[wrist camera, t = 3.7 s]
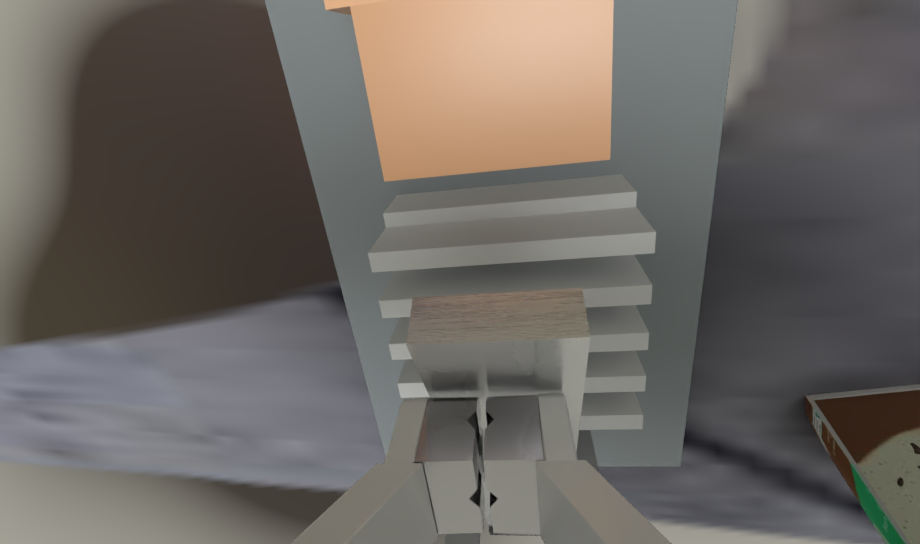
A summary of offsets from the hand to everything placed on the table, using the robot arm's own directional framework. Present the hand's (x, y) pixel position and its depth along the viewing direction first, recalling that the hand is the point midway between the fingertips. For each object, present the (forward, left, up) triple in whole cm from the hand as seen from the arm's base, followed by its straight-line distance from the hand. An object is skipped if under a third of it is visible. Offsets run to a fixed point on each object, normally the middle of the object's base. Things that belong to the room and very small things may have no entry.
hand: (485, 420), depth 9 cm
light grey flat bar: (0, +4, -3) cm, 5 cm away
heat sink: (0, +1, -12) cm, 12 cm away
